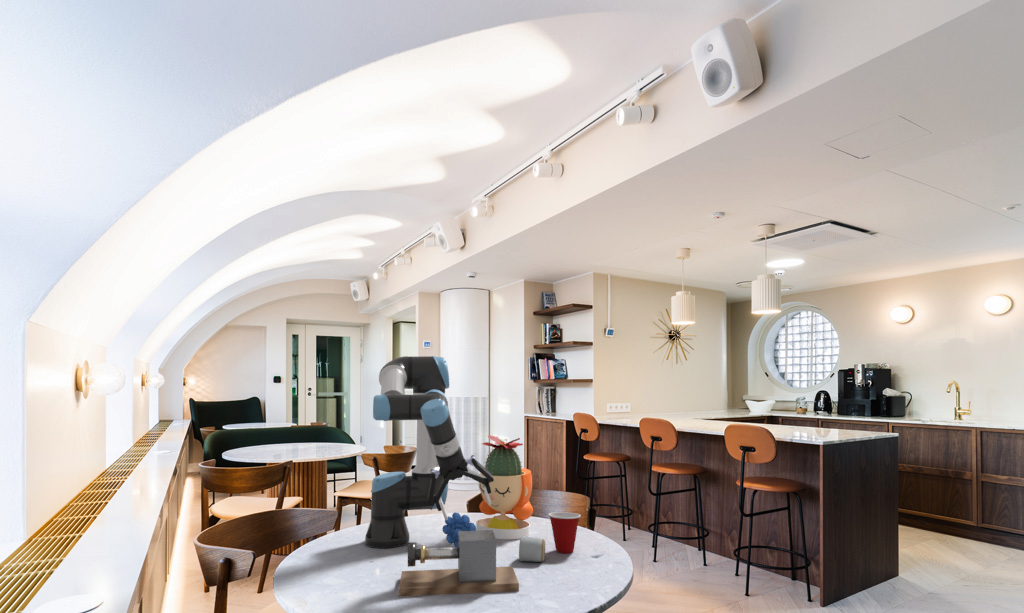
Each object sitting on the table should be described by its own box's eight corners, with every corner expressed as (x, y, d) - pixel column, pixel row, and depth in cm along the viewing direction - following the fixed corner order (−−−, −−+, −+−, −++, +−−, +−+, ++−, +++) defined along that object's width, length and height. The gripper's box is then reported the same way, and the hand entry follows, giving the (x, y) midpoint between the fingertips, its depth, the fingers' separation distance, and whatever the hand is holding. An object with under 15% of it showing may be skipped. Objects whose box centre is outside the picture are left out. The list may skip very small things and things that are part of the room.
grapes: (440, 553, 191) (440, 515, 192) (443, 547, 198) (443, 510, 199) (475, 553, 191) (475, 515, 192) (477, 547, 197) (477, 510, 199)
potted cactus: (515, 542, 203) (515, 440, 207) (464, 533, 215) (465, 436, 219) (546, 528, 221) (545, 434, 225) (497, 520, 233) (497, 431, 237)
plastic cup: (584, 547, 197) (584, 511, 198) (577, 557, 187) (576, 518, 188) (553, 544, 200) (553, 508, 202) (544, 553, 190) (544, 515, 192)
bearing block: (459, 583, 158) (459, 541, 159) (458, 571, 168) (458, 531, 169) (496, 581, 159) (496, 539, 160) (492, 569, 169) (492, 530, 170)
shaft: (407, 569, 158) (407, 546, 159) (408, 562, 164) (408, 540, 165) (473, 566, 161) (473, 544, 161) (472, 559, 167) (472, 538, 167)
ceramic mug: (544, 565, 179) (543, 540, 180) (518, 564, 180) (518, 539, 181) (546, 555, 189) (546, 531, 190) (522, 554, 190) (522, 531, 191)
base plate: (398, 596, 154) (398, 588, 154) (401, 578, 167) (401, 571, 168) (518, 590, 158) (518, 583, 158) (512, 573, 171) (512, 566, 172)
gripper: (406, 471, 164) (428, 531, 171) (490, 442, 167) (509, 503, 173) (405, 457, 171) (427, 516, 178) (486, 430, 174) (505, 489, 180)
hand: (468, 510), depth 176 cm, fingers open, 13 cm apart
